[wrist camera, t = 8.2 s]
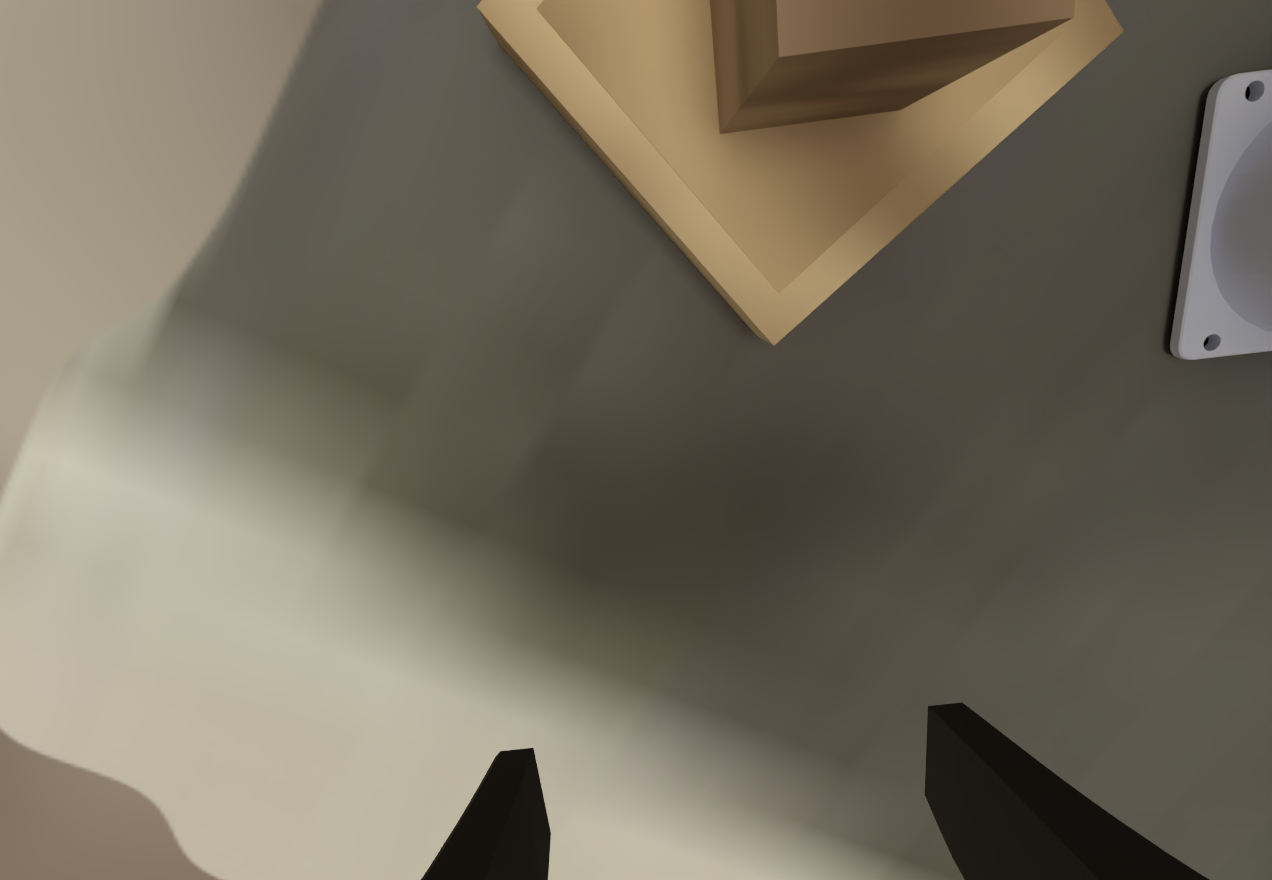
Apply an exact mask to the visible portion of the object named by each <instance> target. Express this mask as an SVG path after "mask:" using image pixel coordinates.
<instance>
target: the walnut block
mask: <svg viewBox="0 0 1272 880" xmlns="http://www.w3.org/2000/svg"><path fill="white" fill-rule="evenodd" d="M710 10H711V24H712V37H713V51H714V64H715V78H716V91H717V105H718V118H719V132H720V134H725V133H732V132H740V131H747V130H755V129H762V128H770V127H778V126H785V125H793V124H800V123H808V122H815V121H823V120H831V119H838V118H846V117H853V116H861V115H868V114H876V113H884V112H891V111H899V110H902V109H904V108H905V107H907V106H909V105H911V104H913V103H915V102H917V101H919V100H920V99H922V98H924V97H926V96H928V95H930V94H932V93H934V92H935V91H937V90H939V89H941V88H943V87H945V86H947V85H949V84H950V83H952V82H954V81H956V80H958V79H960V78H962V77H964V76H965V75H967V74H969V73H971V72H973V71H975V70H977V69H979V68H980V67H982V66H984V65H986V64H988V63H990V62H992V61H994V60H995V59H997V58H999V57H1001V56H1003V55H1005V54H1007V53H1009V52H1010V51H1012V50H1014V49H1016V48H1018V47H1020V46H1022V45H1024V44H1025V43H1027V42H1029V41H1031V40H1033V39H1035V38H1037V37H1039V36H1040V35H1042V34H1044V33H1046V32H1048V31H1050V30H1052V29H1054V28H1055V27H1057V26H1059V25H1061V24H1063V23H1065V22H1067V21H1069V20H1070V19H1072V18H1074V11H1075V0H710Z"/></svg>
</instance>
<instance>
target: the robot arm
mask: <svg viewBox="0 0 1272 880" xmlns="http://www.w3.org/2000/svg"><path fill="white" fill-rule="evenodd" d="M1247 86H1248V87H1249V88H1250V96H1249V98H1248V100H1247V99H1246V98H1245V91H1246V89H1247ZM1208 336H1209V341H1208V343H1207V345H1206V346H1205V347H1204V344H1203V343H1204V341H1205V339H1206V338H1207V337H1208ZM1170 351H1171V352H1172V354H1173V355H1174V356H1175V357H1177V358H1181V359H1187V360H1196V359H1205V358H1213V357H1222V356H1231V355H1240V354H1248V353H1257V352H1266V351H1272V69H1271V70H1263V71H1255V72H1247V73H1239V74H1235V75H1232V76H1228V77H1225V78H1222V79H1220V80H1219V81H1217V82H1216V83H1215V84H1214V85H1213V86H1212V88H1211V89H1210V91H1209V93H1208V96H1207V101H1206V107H1205V114H1204V121H1203V127H1202V134H1201V141H1200V147H1199V154H1198V161H1197V168H1196V174H1195V181H1194V188H1193V194H1192V201H1191V208H1190V214H1189V221H1188V228H1187V235H1186V241H1185V248H1184V255H1183V261H1182V268H1181V275H1180V281H1179V288H1178V295H1177V302H1176V308H1175V315H1174V322H1173V328H1172V335H1171V342H1170ZM925 796H926V798H927V801H928V803H929V805H930V808H931V810H932V812H933V815H934V817H935V819H936V822H937V824H938V826H939V829H940V831H941V833H942V835H943V837H944V840H945V842H946V844H947V846H948V848H949V851H950V853H951V855H952V857H953V859H954V861H955V863H956V864H957V866H958V868H959V870H960V872H961V874H962V875H963V877H964V879H965V880H1209V879H1207V878H1206V877H1204V876H1202V875H1201V874H1199V873H1197V872H1196V871H1194V870H1193V869H1191V868H1190V867H1188V866H1187V865H1185V864H1183V863H1182V862H1180V861H1179V860H1177V859H1176V858H1174V857H1173V856H1171V855H1169V854H1168V853H1166V852H1165V851H1163V850H1162V849H1161V848H1159V847H1158V846H1156V845H1155V844H1153V843H1152V842H1150V841H1149V840H1147V839H1146V838H1144V837H1143V836H1141V835H1140V834H1138V833H1137V832H1135V831H1134V830H1133V829H1131V828H1130V827H1128V826H1127V825H1125V824H1124V823H1122V822H1121V821H1119V820H1118V819H1116V818H1115V817H1114V816H1112V815H1111V814H1109V813H1108V812H1107V811H1105V810H1104V809H1102V808H1101V807H1099V806H1098V805H1097V804H1095V803H1094V802H1092V801H1091V800H1090V799H1088V798H1087V797H1086V796H1084V795H1083V794H1081V793H1080V792H1079V791H1077V790H1076V789H1075V788H1073V787H1072V786H1071V785H1069V784H1068V783H1066V782H1065V781H1064V780H1062V779H1061V778H1060V777H1058V776H1057V775H1056V774H1054V773H1053V772H1052V771H1050V770H1049V769H1048V768H1046V767H1045V766H1044V765H1042V764H1041V763H1040V762H1039V761H1037V760H1036V759H1035V758H1033V757H1032V756H1031V755H1029V754H1028V753H1027V752H1025V751H1024V750H1023V749H1022V748H1020V747H1019V746H1018V745H1016V744H1015V743H1014V742H1012V741H1011V740H1010V739H1009V738H1007V737H1006V736H1005V735H1003V734H1002V733H1001V732H1000V731H998V730H997V729H996V728H994V727H993V726H992V725H991V724H989V723H988V722H987V721H985V720H984V719H983V718H982V717H980V716H979V715H978V714H976V713H975V712H974V711H972V710H971V709H970V708H969V707H967V706H966V705H965V704H963V703H954V704H944V705H935V706H928V723H927V750H926V777H925ZM550 836H551V832H550V827H549V823H548V818H547V813H546V808H545V803H544V798H543V793H542V788H541V783H540V778H539V774H538V769H537V764H536V759H535V754H534V749H533V748H528V749H519V750H509V751H500V753H499V754H498V755H497V756H496V757H495V759H494V761H493V762H492V764H491V766H490V768H489V770H488V771H487V773H486V775H485V777H484V778H483V780H482V782H481V784H480V785H479V787H478V789H477V791H476V792H475V794H474V796H473V798H472V799H471V801H470V803H469V804H468V806H467V808H466V809H465V811H464V813H463V814H462V816H461V818H460V819H459V821H458V823H457V824H456V826H455V828H454V829H453V831H452V832H451V834H450V836H449V837H448V839H447V840H446V842H445V843H444V845H443V847H442V848H441V850H440V851H439V853H438V855H437V856H436V858H435V859H434V861H433V862H432V864H431V866H430V867H429V869H428V870H427V872H426V873H425V875H424V876H423V878H422V879H421V880H548V869H549V852H550Z"/></svg>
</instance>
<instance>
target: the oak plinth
mask: <svg viewBox="0 0 1272 880" xmlns="http://www.w3.org/2000/svg"><path fill="white" fill-rule="evenodd" d="M477 8H478V10H479V12H480V13H481V15H482V17H483V19H484V20H485V22H486V24H487V25H488V27H489V29H490V30H491V32H492V34H493V35H494V37H495V39H496V40H497V42H498V44H499V45H500V46H501V47H502V48H503V49H504V50H505V52H506V53H507V54H508V55H509V56H510V57H511V58H512V59H513V61H514V62H515V63H516V64H517V65H518V66H519V67H520V69H521V70H522V71H523V72H524V73H525V74H526V75H527V77H528V78H529V79H530V80H531V81H532V82H533V83H534V84H535V86H536V87H537V88H538V89H539V90H540V91H541V92H542V94H543V95H544V96H545V97H546V98H547V99H548V100H549V101H550V103H551V104H552V105H553V106H554V107H555V108H556V109H557V111H558V112H559V113H560V114H561V115H562V116H563V117H564V118H565V120H566V121H567V122H568V123H569V124H570V125H571V126H572V128H573V129H574V130H575V131H576V132H577V133H578V134H579V135H580V137H581V138H582V139H583V140H584V141H585V142H586V143H587V145H588V146H589V147H590V148H591V149H592V150H593V151H594V153H595V154H596V155H597V156H598V157H599V158H600V159H601V160H602V162H603V163H604V164H605V165H606V166H607V167H608V168H609V170H610V171H611V172H612V173H613V174H614V175H615V176H616V177H617V179H618V180H619V181H620V182H621V183H622V184H623V185H624V187H625V188H626V189H627V190H628V191H629V192H630V193H631V194H632V196H633V197H634V198H635V199H636V200H637V201H638V202H639V204H640V205H641V206H642V207H643V208H644V209H645V210H646V212H647V213H648V214H649V215H650V216H651V217H652V218H653V219H654V221H655V222H656V223H657V224H658V225H659V226H660V227H661V229H662V230H663V231H664V232H665V233H666V234H667V235H668V236H669V238H670V239H671V240H672V241H673V242H674V243H675V244H676V246H677V247H678V248H679V249H680V250H681V251H682V252H683V253H684V255H685V256H686V257H687V258H688V259H689V260H690V261H691V263H692V264H693V265H694V266H695V267H696V268H697V269H698V271H699V272H700V273H701V274H702V275H703V276H704V277H705V278H706V280H707V281H708V282H709V283H710V284H711V285H712V286H713V288H714V289H715V290H716V291H717V292H718V293H719V294H720V295H721V297H722V298H723V299H724V300H725V301H726V302H727V303H728V305H729V306H730V307H731V308H732V309H733V310H734V311H735V312H736V314H737V315H738V316H739V317H740V318H741V319H742V320H743V322H744V323H745V324H746V325H747V326H748V327H749V328H750V330H751V331H752V332H753V333H754V334H755V335H756V336H758V337H760V338H761V339H763V340H765V341H766V342H768V343H770V344H772V345H773V346H774V345H776V344H777V343H778V342H779V341H780V340H781V339H782V338H783V337H784V336H786V335H787V334H788V333H789V332H790V331H791V330H792V329H793V328H794V327H796V326H797V325H798V324H799V323H800V322H801V321H802V320H803V319H804V318H806V317H807V316H808V315H809V314H810V313H811V312H812V311H813V310H814V309H816V308H817V307H818V306H819V305H820V304H821V303H822V302H823V301H824V300H826V299H827V298H828V297H829V296H830V295H831V294H832V293H833V292H834V291H836V290H837V289H838V288H839V287H840V286H841V285H842V284H843V283H845V282H846V281H847V280H848V279H849V278H850V277H851V276H852V275H853V274H855V273H856V272H857V271H858V270H859V269H860V268H861V267H862V266H863V265H865V264H866V263H867V262H868V261H869V260H870V259H871V258H872V257H873V256H875V255H876V254H877V253H878V252H879V251H880V250H881V249H882V248H883V247H885V246H886V245H887V244H888V243H889V242H890V241H891V240H892V239H893V238H895V237H896V236H897V235H898V234H899V233H900V232H901V231H902V230H903V229H905V228H906V227H907V226H908V225H909V224H910V223H911V222H912V221H913V220H915V219H916V218H917V217H918V216H919V215H920V214H921V213H922V212H923V211H925V210H926V209H927V208H928V207H929V206H930V205H931V204H932V203H933V202H935V201H936V200H937V199H938V198H939V197H940V196H941V195H942V194H944V193H945V192H946V191H947V190H948V189H949V188H950V187H951V186H952V185H954V184H955V183H956V182H957V181H958V180H959V179H960V178H961V177H962V176H964V175H965V174H966V173H967V172H968V171H969V170H970V169H971V168H972V167H974V166H975V165H976V164H977V163H978V162H979V161H980V160H981V159H982V158H984V157H985V156H986V155H987V154H988V153H989V152H990V151H991V150H992V149H994V148H995V147H996V146H997V145H998V144H999V143H1000V142H1001V141H1002V140H1004V139H1005V138H1006V137H1007V136H1008V135H1009V134H1010V133H1011V132H1012V131H1014V130H1015V129H1016V128H1017V127H1018V126H1019V125H1020V124H1021V123H1022V122H1024V121H1025V120H1026V119H1027V118H1028V117H1029V116H1030V115H1031V114H1033V113H1034V112H1035V111H1036V110H1037V109H1038V108H1039V107H1040V106H1041V105H1043V104H1044V103H1045V102H1046V101H1047V100H1048V99H1049V98H1050V97H1051V96H1053V95H1054V94H1055V93H1056V92H1057V91H1058V90H1059V89H1060V88H1061V87H1063V86H1064V85H1065V84H1066V83H1067V82H1068V81H1069V80H1070V79H1071V78H1073V77H1074V76H1075V75H1076V74H1077V73H1078V72H1079V71H1080V70H1081V69H1083V68H1084V67H1085V66H1086V65H1087V64H1088V63H1089V62H1090V61H1091V60H1093V59H1094V58H1095V57H1096V56H1097V55H1098V54H1099V53H1100V52H1101V51H1103V50H1104V49H1105V48H1106V47H1107V46H1108V45H1109V44H1110V43H1111V42H1113V41H1114V40H1115V39H1116V38H1117V37H1118V36H1119V35H1120V34H1122V33H1123V32H1124V31H1123V29H1122V28H1121V26H1120V24H1119V22H1118V21H1117V19H1116V17H1115V16H1114V14H1113V12H1112V11H1111V9H1110V7H1109V6H1108V4H1107V2H1106V1H1105V0H1075V11H1074V18H1072V19H1070V20H1069V21H1067V22H1065V23H1063V24H1061V25H1059V26H1057V27H1055V28H1054V29H1052V30H1050V31H1048V32H1046V33H1044V34H1042V35H1040V36H1039V37H1037V38H1035V39H1033V40H1031V41H1029V42H1027V43H1025V44H1024V45H1022V46H1020V47H1018V48H1016V49H1014V50H1012V51H1010V52H1009V53H1007V54H1005V55H1003V56H1001V57H999V58H997V59H995V60H994V61H992V62H990V63H988V64H986V65H984V66H982V67H980V68H979V69H977V70H975V71H973V72H971V73H969V74H967V75H965V76H964V77H962V78H960V79H958V80H956V81H954V82H952V83H950V84H949V85H947V86H945V87H943V88H941V89H939V90H937V91H935V92H934V93H932V94H930V95H928V96H926V97H924V98H922V99H920V100H919V101H917V102H915V103H913V104H911V105H909V106H907V107H905V108H904V109H902V110H899V111H891V112H884V113H876V114H868V115H861V116H853V117H846V118H838V119H831V120H823V121H815V122H808V123H800V124H793V125H785V126H778V127H770V128H762V129H755V130H747V131H740V132H732V133H725V134H720V132H719V118H718V105H717V91H716V78H715V64H714V51H713V37H712V24H711V10H710V0H482V1H481V2H480V3H479V5H478V6H477Z"/></svg>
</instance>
